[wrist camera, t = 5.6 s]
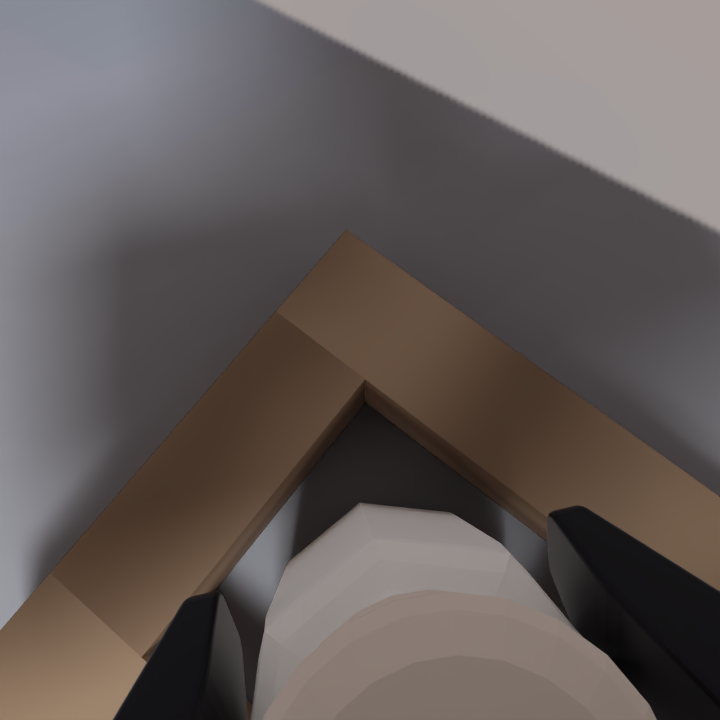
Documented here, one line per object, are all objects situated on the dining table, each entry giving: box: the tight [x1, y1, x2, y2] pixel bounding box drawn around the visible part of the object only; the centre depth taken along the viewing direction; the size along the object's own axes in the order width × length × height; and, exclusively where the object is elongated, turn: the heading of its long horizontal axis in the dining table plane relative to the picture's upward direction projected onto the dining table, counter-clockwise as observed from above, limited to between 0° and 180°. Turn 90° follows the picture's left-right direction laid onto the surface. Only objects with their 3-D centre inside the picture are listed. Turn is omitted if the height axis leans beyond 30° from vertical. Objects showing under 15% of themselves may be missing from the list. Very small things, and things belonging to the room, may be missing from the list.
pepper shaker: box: [250, 503, 657, 720], centre depth 9 cm, size 5×5×11 cm
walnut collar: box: [0, 230, 720, 720], centre depth 14 cm, size 12×12×2 cm
